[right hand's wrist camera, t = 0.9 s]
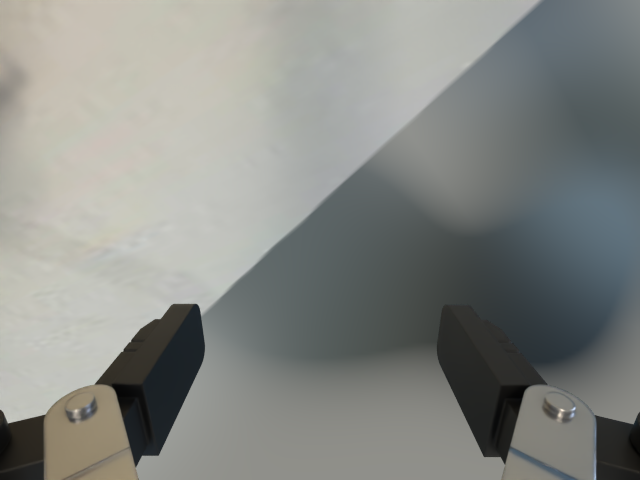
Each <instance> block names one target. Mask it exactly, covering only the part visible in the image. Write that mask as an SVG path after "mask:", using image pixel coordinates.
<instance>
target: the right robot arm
mask: <svg viewBox="0 0 640 480" xmlns="http://www.w3.org/2000/svg"><path fill="white" fill-rule="evenodd" d="M204 352H205V343H204V335H203V328H202V321H201V314H200V308H199V306H198V305H197V304H173V305H171V307H170V308H169V309H168V310H167V312H166V313H165V314H164V316H163V317H162V318H161V319H155V320H153V321H152V322H150V323H149V324H147V325H146V326H144V327H143V328H141V329H140V330H139V332H138V333H137V334H136V335H135V336H134V338H133V339H132V340H131V342H129V344H128V345H127V346H126V347H125V348H124V351H123V352H121V353H120V354H119V356H118V357H117V358H116V359H115V360H114V362H113V363H112V364H111V365H110V366H109V368H108V369H107V370H106V371H105V373H104V374H103V375H102V376H101V377H100V379H99V380H98V381H97V382H96V383H95V385H90V386H86V387H83V388H80V389H77V390H75V391H73V392H71V393H69V394H67V395H65V396H64V397H62V398H61V399H60V400H58V401H57V402H56V403H55V404H54V405H53V406H52V407H51V408H50V409H49V410H48V412H47V413H46V415H42V416H38V417H34V418H30V419H25V420H21V421H17V422H13V423H7V420H6V418H5V416H4V413H3V412H2V411H1V410H0V480H139V479H138V475H137V471H136V466H137V464H138V462H139V460H140V458H141V456H158V455H159V454H160V451H161V449H162V447H163V445H164V443H165V441H166V439H167V437H168V434H169V432H170V430H171V428H172V426H173V424H174V422H175V420H176V418H177V415H178V413H179V411H180V409H181V407H182V405H183V403H184V401H185V398H186V396H187V394H188V392H189V390H190V388H191V386H192V384H193V381H194V379H195V377H196V375H197V373H198V371H199V369H200V367H201V364H202V362H203V358H204ZM437 355H438V360H439V363H440V365H441V368H442V370H443V372H444V374H445V376H446V378H447V380H448V382H449V384H450V386H451V389H452V391H453V393H454V395H455V397H456V399H457V401H458V403H459V405H460V407H461V410H462V412H463V414H464V416H465V418H466V420H467V422H468V424H469V426H470V429H471V431H472V433H473V435H474V437H475V439H476V441H477V443H478V445H479V447H480V449H481V452H482V454H483V456H484V457H501V458H502V460H503V462H504V464H505V467H504V471H503V475H502V479H501V480H640V412H639V414H638V416H637V418H636V420H635V423H634V425H633V424H629V423H625V422H620V421H616V420H612V419H608V418H604V417H599V416H596V415H594V413H593V412H592V410H591V409H590V408H589V407H588V406H587V405H586V404H585V403H584V402H583V401H582V400H580V399H579V398H578V397H576V396H574V395H573V394H571V393H569V392H567V391H565V390H563V389H560V388H557V387H554V386H550V385H547V383H546V382H545V381H544V380H543V379H542V377H541V376H540V375H539V374H538V373H537V371H536V370H535V369H534V368H533V367H532V365H531V364H530V363H529V362H528V361H527V360H526V358H525V357H524V356H523V355H522V353H519V350H518V349H517V347H516V346H515V345H514V344H513V343H511V340H510V339H509V338H508V337H507V336H506V334H505V333H504V332H503V331H502V330H501V329H500V328H498V327H497V326H495V325H494V324H492V323H491V322H489V321H488V320H481V319H480V317H479V316H478V315H477V314H476V312H475V311H474V310H473V308H472V307H471V306H470V305H444V306H443V309H442V313H441V320H440V327H439V334H438V341H437Z"/></svg>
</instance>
